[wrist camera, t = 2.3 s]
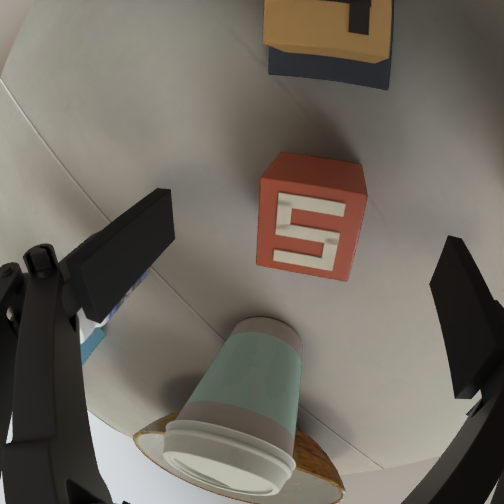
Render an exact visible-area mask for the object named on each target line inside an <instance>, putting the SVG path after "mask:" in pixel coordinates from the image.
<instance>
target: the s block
mask: <svg viewBox="0 0 504 504" xmlns="http://www.w3.org/2000/svg"><path fill="white" fill-rule="evenodd" d="M367 196H368V195H367V189H366V183H365V178H364V173H363V168H362V165H361V164H357V163H351V162H345V161H340V160H334V159H327V158H321V157H314V156H308V155H301V154H293V153H285V152H280V153H279V154H278V156H277V157H276V158H275V160H274V161H273V162H272V163H271V165H270V166H269V167H268V169H267V170H266V171H265V172H264V174H263V175H262V176H261V178H260V195H259V215H258V235H257V255H256V265H259V266H264V267H270V268H275V269H280V270H286V271H291V272H297V273H302V274H307V275H313V276H318V277H324V278H329V279H335V280H340V281H348V278H349V274H350V270H351V266H352V262H353V258H354V254H355V250H356V246H357V242H358V238H359V233H360V229H361V225H362V220H363V215H364V211H365V206H366V201H367Z"/></svg>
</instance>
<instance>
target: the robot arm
mask: <svg viewBox="0 0 504 504" xmlns="http://www.w3.org/2000/svg"><path fill="white" fill-rule="evenodd" d="M174 239H175V233H174V222H173V211H172V199H171V189H161V188H157V189H155V190H154V191H153V192H151V193H150V194H149V195H147V196H146V197H144V198H143V199H142V200H140V201H139V202H138V203H136V204H135V205H134V206H132V207H131V208H130V209H128V210H127V211H126V212H124V213H123V214H122V215H120V216H119V217H118V218H117V219H115V220H114V221H113V222H111V223H110V224H109V225H108V226H106V227H105V228H104V229H103V230H101V231H99V232H97V233H95V234H93V235H91V236H90V237H89V238H87V239H86V240H85V241H84V243H81V244H80V245H79V246H78V248H75V249H74V250H73V251H72V252H71V253H69V254H68V255H67V256H66V257H65V258H64V259H62V260H61V261H60V262H59V263H58V261H57V257H56V254H55V251H54V248H53V246H52V245H51V244H40V245H37V246H34V247H32V248H31V249H29V250H28V251H27V252H26V253H25V254H24V256H23V259H24V262H25V264H26V267H27V269H28V272H29V273H22V271H21V268H20V266H19V264H18V263H15V262H12V263H7V264H4V265H2V267H0V478H1V471H2V476H3V486H4V494H5V501H6V504H114V503H113V502H112V498H111V495H110V493H109V490H108V488H107V486H106V484H105V482H104V480H103V479H102V477H101V475H100V473H99V470H98V466H97V461H96V457H95V452H94V448H93V443H92V437H91V432H90V426H89V420H88V413H87V406H86V399H85V391H84V382H83V372H82V361H81V346H80V325H79V317H78V314H77V312H78V311H79V310H80V309H81V308H82V309H83V311H84V314H85V316H86V319H89V320H91V321H94V322H96V323H99V324H101V323H102V322H103V321H104V319H105V318H106V317H107V316H108V315H109V313H110V312H111V311H112V310H113V309H114V307H115V306H116V305H117V304H118V303H119V301H120V300H121V299H122V298H123V297H124V296H125V294H126V293H127V292H128V291H129V290H130V289H131V287H132V286H133V285H134V284H135V283H136V282H137V281H138V279H139V278H140V277H141V276H142V275H143V274H144V273H145V271H146V270H147V269H148V268H149V267H150V266H151V265H152V264H153V262H154V261H155V260H156V259H157V258H158V257H159V256H160V255H161V254H162V252H163V251H164V250H165V249H166V248H167V247H168V246H169V245H170V244H171V243H172V242H173V240H174ZM429 285H430V288H431V292H432V295H433V299H434V302H435V306H436V310H437V313H438V317H439V321H440V325H441V329H442V334H443V338H444V342H445V347H446V352H447V356H448V362H449V367H450V372H451V378H452V384H453V390H454V397H455V399H472V398H473V396H474V395H475V394H476V393H477V392H478V391H479V390H481V395H482V398H481V399H480V400H479V401H478V402H477V403H476V405H475V406H474V407H473V408H472V409H471V410H470V411H469V412H468V413H467V414H466V415H467V416H468V415H469V417H468V418H467V420H466V421H465V423H464V425H463V426H462V428H461V429H460V431H459V432H458V434H457V435H456V436H455V438H454V439H453V441H452V442H451V444H450V445H449V446H448V448H447V449H446V450H445V452H444V453H443V454H442V456H441V458H439V460H438V461H437V462H436V464H435V465H434V466H433V467H432V469H431V470H430V471H429V472H428V474H427V475H426V476H425V477H424V479H423V480H422V481H421V482H420V483H419V484H418V485H417V486H416V488H415V489H414V490H413V491H412V492H411V493H410V494H409V496H408V497H407V498H406V499H405V500H404V501H403V502H402V503H401V504H484V503H485V501H486V500H487V498H488V497H489V495H490V493H491V491H492V490H493V488H494V486H495V485H496V483H497V481H498V479H499V481H498V483H497V487H496V489H495V492H494V495H493V498H492V500H491V503H490V504H504V308H503V307H502V305H501V304H500V303H499V302H498V301H497V300H494V299H493V297H492V295H491V293H490V291H489V289H488V287H487V285H486V283H485V281H484V279H483V277H482V275H481V273H480V271H479V269H478V267H477V265H476V263H475V261H474V259H473V258H472V256H471V254H470V252H469V250H468V249H467V247H466V245H465V243H464V242H463V240H462V238H458V237H453V236H449V235H448V237H447V240H446V242H445V245H444V248H443V251H442V253H441V256H440V259H439V261H438V264H437V266H436V269H435V272H434V274H433V276H432V279H431V281H430V284H429ZM8 309H9V311H10V313H11V315H12V317H11V319H10V320H9V319H8V317H7V315H6V314H7V310H8ZM12 411H13V413H12ZM11 415H12V420H13V423H12V424H13V438H12V441H11V443H7V444H6V440H7V435H8V429H9V424H10V420H11ZM122 504H130V503H128V502H125V501H123V503H122Z"/></svg>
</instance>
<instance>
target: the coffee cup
mask: <svg viewBox="0 0 504 504" xmlns="http://www.w3.org/2000/svg"><path fill="white" fill-rule="evenodd" d="M301 362H302V341H301V339H300V337H299V335H298V334H297V333H296V332H295V331H294V330H293V329H292V328H291V327H289V326H288V325H286V324H284V323H282V322H280V321H278V320H275V319H271V318H266V317H253V318H248V319H245V320H243V321H241V322H239V323H238V324H237V325H236V327H235V328H234V330H233V331H232V333H231V334H230V336H229V337H228V339H227V340H226V342H225V344H224V345H223V347H222V348H221V350H220V351H219V353H218V355H217V356H216V358H215V359H214V361H213V362H212V364H211V365H210V367H209V369H208V370H207V372H206V373H205V375H204V376H203V378H202V379H201V381H200V383H199V384H198V386H197V387H196V389H195V390H194V392H193V393H192V395H191V396H190V398H189V399H188V401H187V402H186V404H185V406H184V407H183V409H182V410H181V412H180V413H179V415H178V416H177V418H176V419H175V420H174V421H171V422H169V423H168V424H167V425H166V432H165V433H164V441H165V442H164V449H163V457H164V459H165V460H166V461H167V462H168V463H169V464H170V465H172V466H173V467H174V468H176V469H177V470H179V471H180V472H182V473H184V474H186V475H188V476H190V477H192V478H194V479H196V480H198V481H201V482H203V483H206V484H208V485H211V486H214V487H217V488H220V489H224V490H227V491H231V492H236V493H241V494H247V495H255V496H270V495H275V494H277V493H279V491H280V490H281V488H282V487H283V485H284V483H285V482H286V480H288V479H289V478H290V477H291V476H292V471H293V470H294V469H295V467H296V463H295V461H294V459H293V458H292V456H293V448H294V439H295V430H296V420H297V410H298V399H299V388H300V376H301Z"/></svg>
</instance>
